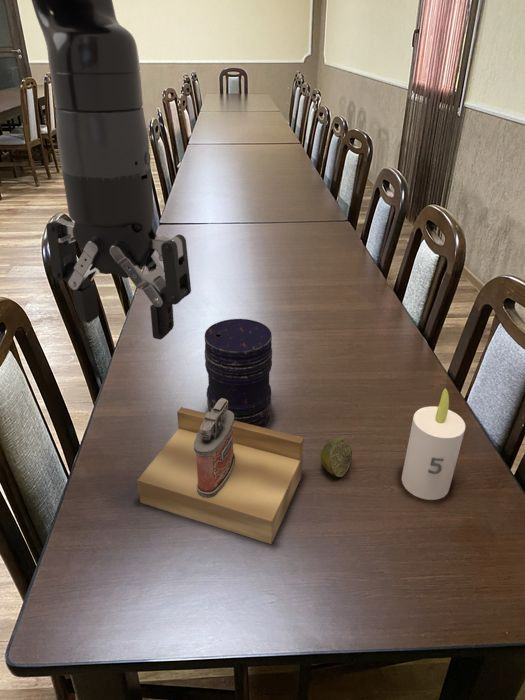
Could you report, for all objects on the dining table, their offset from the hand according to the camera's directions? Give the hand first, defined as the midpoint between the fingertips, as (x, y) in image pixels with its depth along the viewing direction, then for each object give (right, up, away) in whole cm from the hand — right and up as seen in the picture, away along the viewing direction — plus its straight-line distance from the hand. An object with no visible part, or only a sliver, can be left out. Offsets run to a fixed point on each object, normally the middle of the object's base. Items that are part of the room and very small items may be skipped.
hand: (125, 327), depth 55 cm
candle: (+36, -20, +18) cm, 45 cm away
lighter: (+8, -18, +13) cm, 24 cm away
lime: (+24, -19, +20) cm, 37 cm away
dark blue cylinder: (+10, -13, +30) cm, 34 cm away
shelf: (+9, -21, +16) cm, 28 cm away
